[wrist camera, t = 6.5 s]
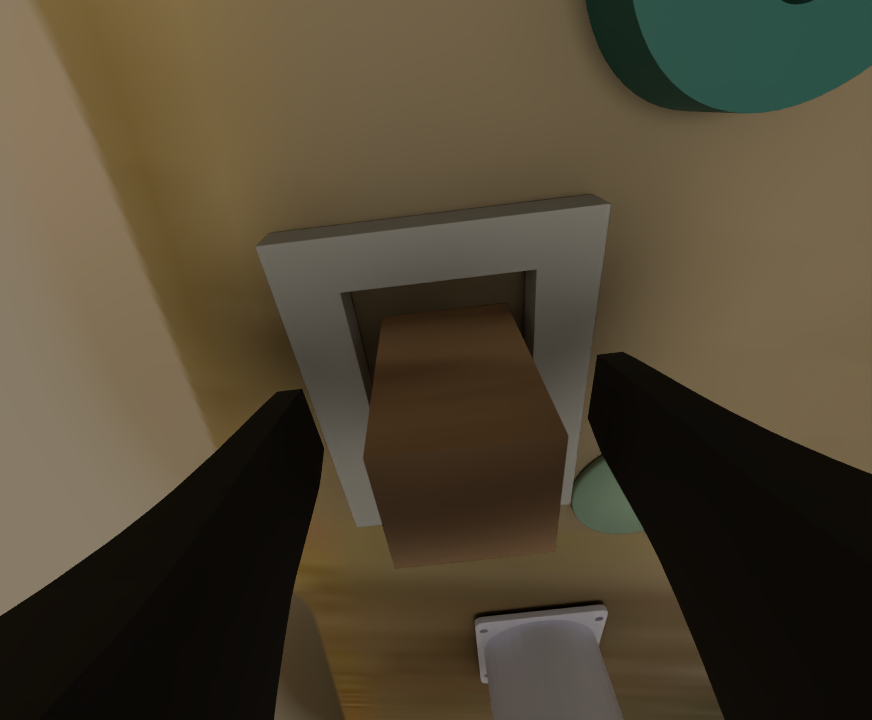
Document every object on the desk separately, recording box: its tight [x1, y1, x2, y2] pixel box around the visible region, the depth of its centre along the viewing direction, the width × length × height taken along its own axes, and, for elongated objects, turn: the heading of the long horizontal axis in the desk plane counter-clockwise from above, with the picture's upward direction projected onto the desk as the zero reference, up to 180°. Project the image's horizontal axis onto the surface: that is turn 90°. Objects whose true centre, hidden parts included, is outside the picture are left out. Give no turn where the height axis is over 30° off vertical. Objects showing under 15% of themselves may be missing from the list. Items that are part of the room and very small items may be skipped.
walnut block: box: [363, 303, 569, 569], centre depth 11 cm, size 4×4×6 cm
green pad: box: [571, 455, 644, 534], centre depth 18 cm, size 6×6×1 cm
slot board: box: [255, 194, 611, 527], centre depth 14 cm, size 12×9×1 cm
